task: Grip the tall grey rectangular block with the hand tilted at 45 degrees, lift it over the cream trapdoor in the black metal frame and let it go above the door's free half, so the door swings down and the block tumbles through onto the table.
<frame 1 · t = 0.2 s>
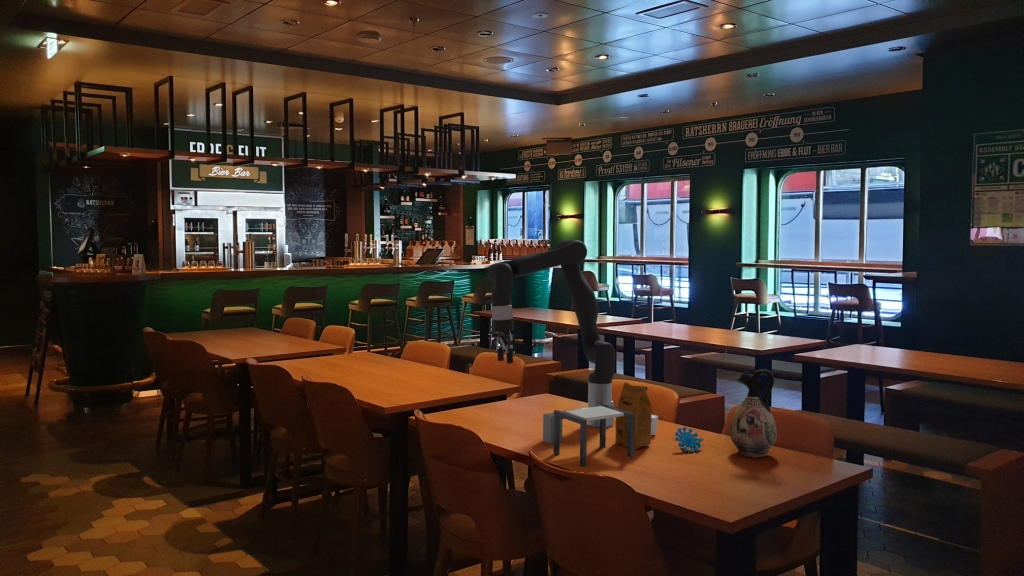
hand: (505, 362, 280), 28 cm above the table, tool pointing down, fingers open, 8 cm apart
trapdoor: (593, 413, 259), point 14 cm above the table, hinge at 0.0°
ceramic jug: (754, 455, 264), on the table
coffee package: (632, 445, 275), on the table
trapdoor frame: (593, 455, 260), on the table
blue knobbed toy: (689, 450, 269), on the table
shot glass: (648, 434, 290), on the table
grey rectangular block: (552, 441, 278), on the table
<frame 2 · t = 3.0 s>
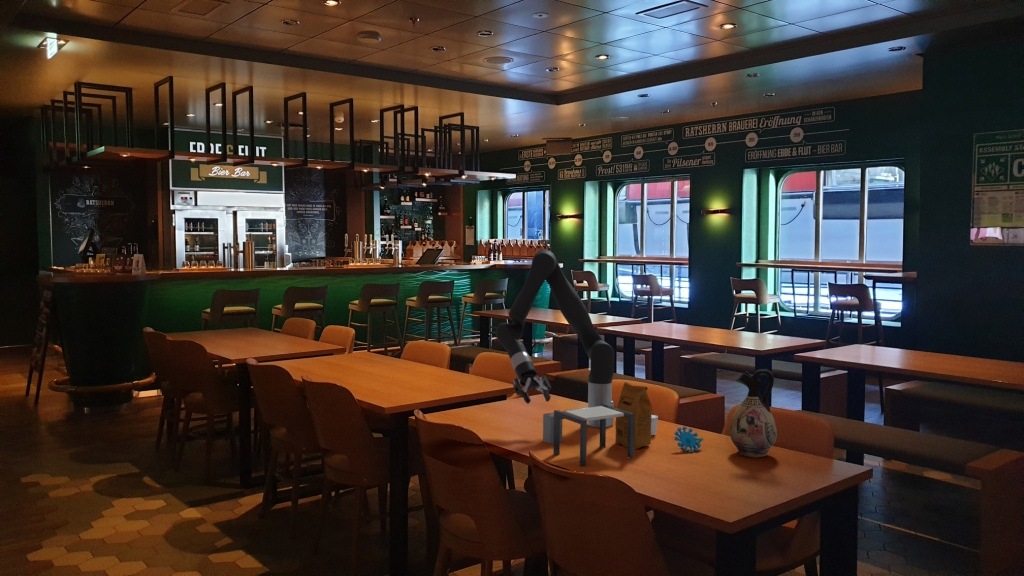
hand: (538, 401, 285), 13 cm above the table, tool tilted 45°, fingers open, 8 cm apart
nothing on the table moved.
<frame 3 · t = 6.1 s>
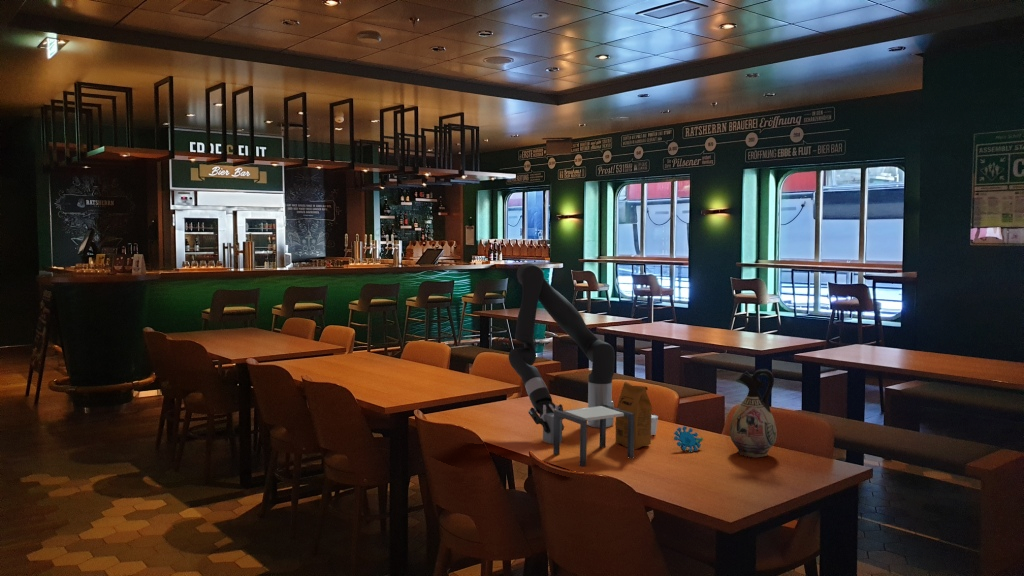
hand: (555, 431, 276), 4 cm above the table, tool tilted 45°, fingers closed on grey rectangular block, 5 cm apart
grey rectangular block: (552, 441, 278), on the table, touching gripper
everything else where it was.
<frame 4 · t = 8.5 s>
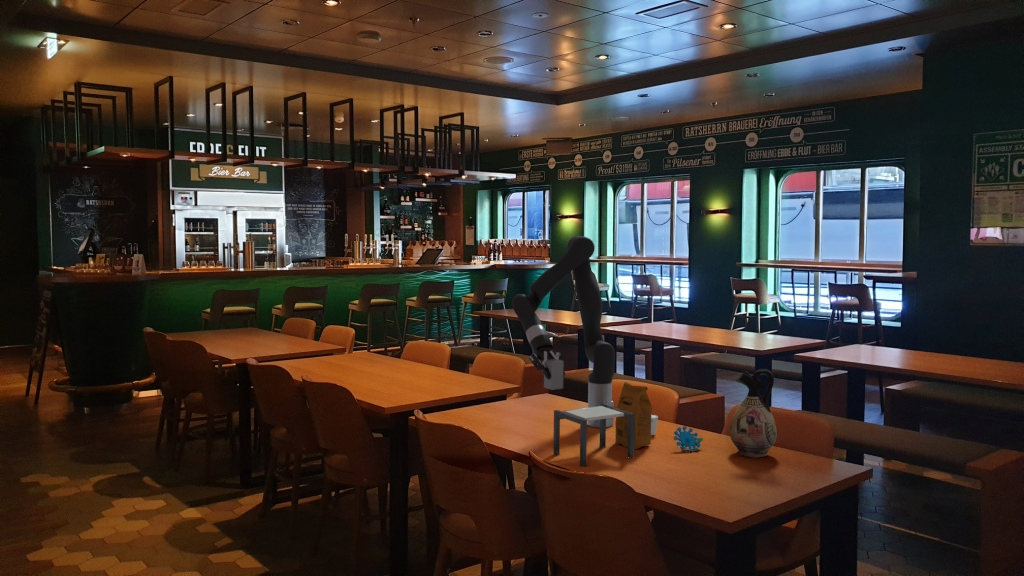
hand: (556, 377, 275), 24 cm above the table, tool tilted 45°, fingers closed on grey rectangular block, 5 cm apart
grey rectangular block: (553, 387, 277), point 20 cm above the table, touching gripper
everything else where it was.
when the fingers open (22 cm above the table, at t = 10.9 s): grey rectangular block drops 8 cm and tips over, point 10 cm above the table.
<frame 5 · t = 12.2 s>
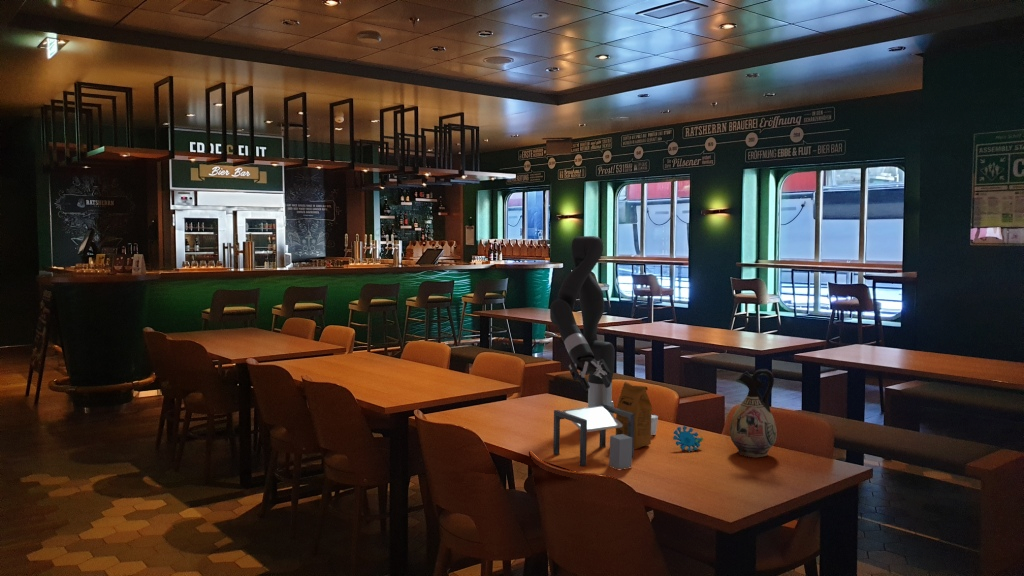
hand: (598, 387, 257), 24 cm above the table, tool tilted 45°, fingers open, 8 cm apart
trapdoor: (592, 418, 260), point 13 cm above the table, hinge at -19.1°
grey rectangular block: (621, 436, 246), point 10 cm above the table, tilted 179°
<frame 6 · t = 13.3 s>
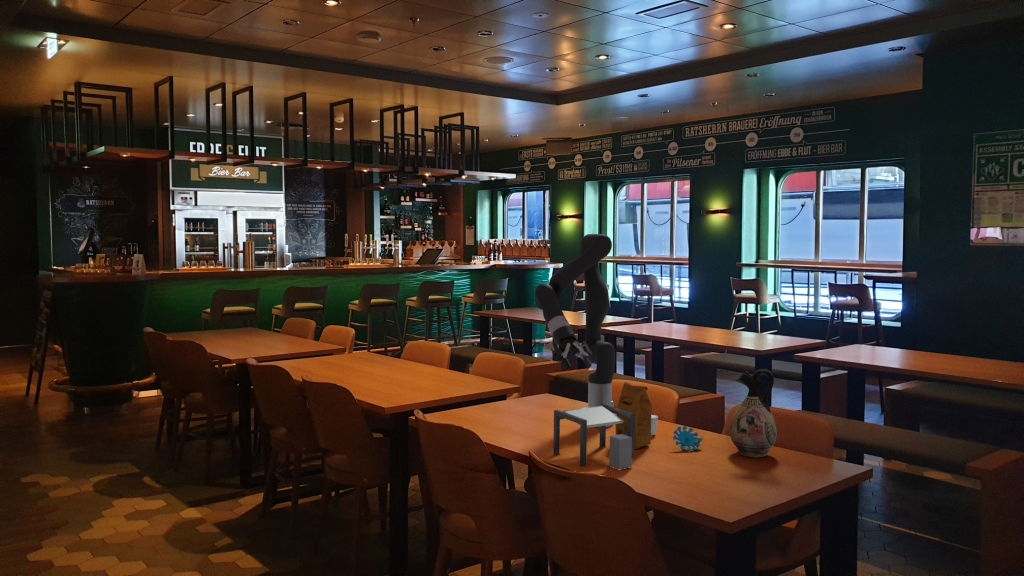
hand: (579, 368, 266), 29 cm above the table, tool tilted 45°, fingers open, 8 cm apart
trapdoor: (592, 416, 260), point 13 cm above the table, hinge at -11.9°
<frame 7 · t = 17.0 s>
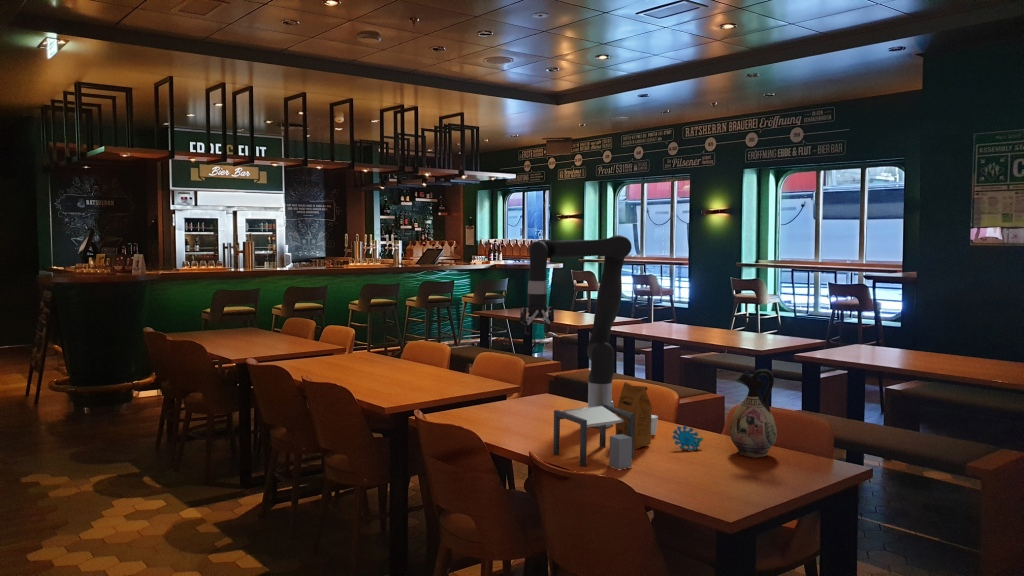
hand: (537, 333, 300), 36 cm above the table, tool pointing down, fingers open, 8 cm apart
trapdoor: (592, 416, 260), point 13 cm above the table, hinge at -10.6°
at the end: grey rectangular block point 10.0 cm above the table; grey rectangular block touching table; grey rectangular block inside the target area on the table beside the trapdoor (9.6 cm from its centre), point 10.8 cm above the table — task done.
